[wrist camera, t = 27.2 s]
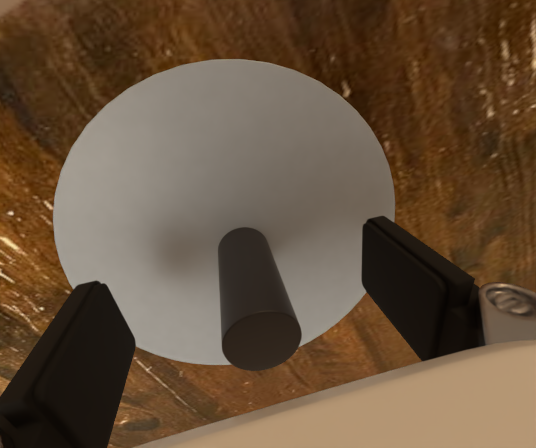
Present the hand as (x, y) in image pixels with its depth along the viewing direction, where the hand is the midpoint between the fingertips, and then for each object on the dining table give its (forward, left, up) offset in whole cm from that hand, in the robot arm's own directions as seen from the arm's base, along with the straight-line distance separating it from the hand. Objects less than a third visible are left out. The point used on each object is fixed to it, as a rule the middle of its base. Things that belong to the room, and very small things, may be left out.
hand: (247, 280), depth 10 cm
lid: (0, 0, -4) cm, 4 cm away
